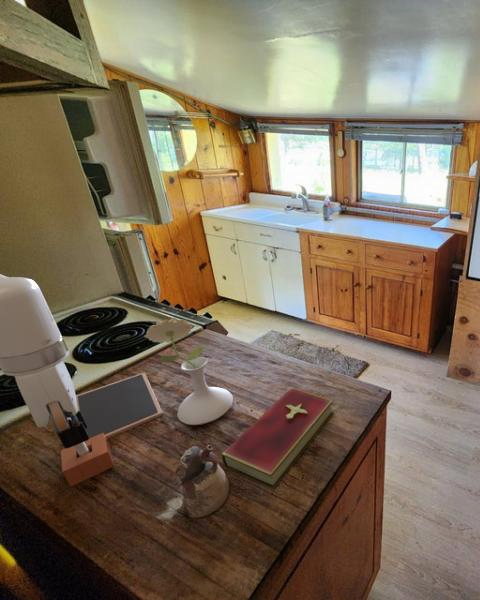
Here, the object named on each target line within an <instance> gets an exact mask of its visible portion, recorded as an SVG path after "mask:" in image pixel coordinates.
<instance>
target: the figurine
mask: <svg viewBox="0 0 480 600" xmlns="http://www.w3.org/2000/svg"><path fill="white" fill-rule="evenodd" d="M213 449H214V448H213V446H212V445H211V444H208V445H206V447H205V448H204V449H202V448H200V447H199V446H196V445H195V446H191V447H190V448H189V449H186V451H184V453H183V455H182V456H181V457H180V460H179V462H178V467H177V468H176V470H175V474H177V475H179V483H178V484H179V486H182V494H183V497H182V502H183V506H184V508H185V512H186V513H187V515H188V516H189V517H191V518H193V519H194V518H196V519H197V518H203V517H207V516H208V515H210V514H212V513H214V512H216V511H217V510H218V509H219V508H221V507H222V505H224V503H225V502H226V501H227V498H228V497H229V493H230V481H229V478H228V476H227V474H226V472H225V471H224V470H223V468H222V467H221V466H220V465H219V459H218V456H217V454H216V453H214V452H213Z"/></svg>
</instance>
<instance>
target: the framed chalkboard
mask: <svg viewBox="0 0 480 600" xmlns="http://www.w3.org/2000/svg"><path fill="white" fill-rule="evenodd" d="M76 400H77V408H78V411H80V412H81V414H82V416H83V418H84V420H85V422H86V424H87V428H86V429H85V430H86V432H87V434H88V436H89V439H90V438H92V437H94V436H97V435H99V434H102V433H104V435H105V437H106V439H107V440H108V439H110V438H113V437H115V436H117V435H119V434H122V433H124V432H127V431H129V430H131V429H133V428H136V427H138V426H141V425H143V424H146V423H148V422H150V421H152V420H155V419H157V418H159V417H162V416H164V412H163V410H162V407H161V406H160V403H159V401H158V399H157V397H156V395H155V392H154V391H153V388H152V386H151V383H150V382H149V379H148V376H147V374H146V372H141V373H138V374H135V375H133V376H129V377H127V378H124V379H120V380H117V381H115V382H112V383H109V384H106V385H103V386H100V387H97V388H93V389H91V390H88V391H85V392H82V393H80V394H79V393H78V394H76Z"/></svg>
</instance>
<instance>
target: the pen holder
mask: <svg viewBox="0 0 480 600" xmlns="http://www.w3.org/2000/svg"><path fill="white" fill-rule="evenodd" d="M84 443H85V445H86V446H87V448H88V450H89V452H90V453H88V454H85V455H83V456H81V457H80V456H79V454H78V453H77V451H76V449H75V448H74V446H73V447H70V448H65V447H64V448H62V449H61V450H60V460H61V461H60V463H61V473H62V474H63V476H64V477H65V479H66V481H67V482H68V483H67V484H68V485H69V487H73V486H75V485H78V484H80V483H82V482H84V481H87V480H88V479H91V478H93V477H95V476H97V475H99V474H101V473H104V472H105V471H107V470H109V469H112V468H114V467H115V462H114V457H113V452H112V450H111V446H110V443H109V442H108V439H106V437H105V435H104V433H102V434H99V435H97V436H94V437H92V438H90V439H89V440H87V441H85V442H84Z"/></svg>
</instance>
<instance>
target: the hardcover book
mask: <svg viewBox="0 0 480 600" xmlns="http://www.w3.org/2000/svg"><path fill="white" fill-rule="evenodd" d="M333 402H334V400H333V399H330V398H328V397H324V396H322V395H318V394H315V393H313V392H309V391H306V390H303V389H300V388H296V387H293V386H291V387H290V388H289V389H288V390H287V391H286V392H285V393H284V394H283V395H282V396H281V397H280V398H279V399H278V400H277V401H276V402H274V403H273V405H271V406H270V407H269V408H268V409H267V410H266V411H265V412H264V413H263V414H262V415H261V416H260V417H259V418H258V419H256V421H254V423H253V424H251V425H250V426H249V427H248V428H247V429H246V430H245V431H244V432H243V433H242V434H241V435H240V436H239V437H238V438H237V439H235V441H234V442H232V443H231V444H230V445H229V446H228V447H227V448H226V449H225V450H224V451H223V452H222V453H221V454H220V457H221V462H222V465H223V466H224V468H225V469H227V470H229V471H232V473H233V472H234V473H236V474H238V475H239V476H243V477H245V478H247V479H248V480H251V481H253V482H256V483H258V484H260V485H262V486H265V487H267V488H270V489H271V490H274V489H275V488H276V487H277V486H278V484H279V483H280V482H281V481H282V479H283V478H284V477H285V475H286V474H287V473H288V472H289V471H290V470H291V468H292V467H293V466H294V464H295V463H296V461H297V460H298V459H299V458H300V456H301V455H302V454H303V452H304V451H305V450H306V449H307V448H308V446H309V445H310V444H311V443H312V441H313V440H314V439H315V437H316V436H317V435H318V433H320V431H321V430H322V429H323V427H324V426H325V424H326V423H327V422H328V421H329V420H330V418H331V417H332V416H333V415H334V412H335V411H333V410H332V403H333Z"/></svg>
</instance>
